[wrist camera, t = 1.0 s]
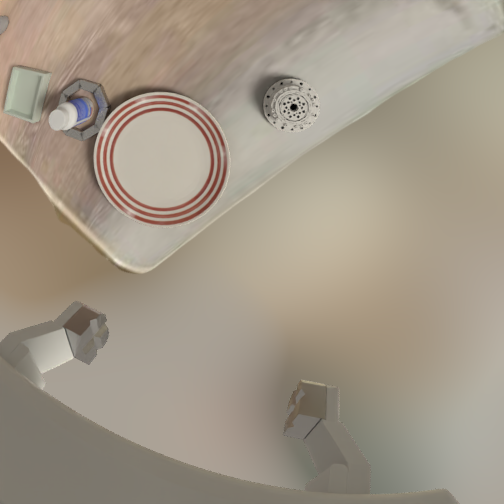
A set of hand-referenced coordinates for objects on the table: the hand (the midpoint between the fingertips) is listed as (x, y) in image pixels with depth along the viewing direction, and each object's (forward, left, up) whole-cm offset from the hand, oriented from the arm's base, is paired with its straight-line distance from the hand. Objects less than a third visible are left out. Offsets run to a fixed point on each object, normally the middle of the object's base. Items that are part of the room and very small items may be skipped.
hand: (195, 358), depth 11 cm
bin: (+9, -48, -47) cm, 68 cm away
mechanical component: (-7, +6, -47) cm, 48 cm away
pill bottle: (+9, -31, -47) cm, 57 cm away
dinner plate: (+13, -11, -47) cm, 50 cm away
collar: (+9, -31, -47) cm, 57 cm away
